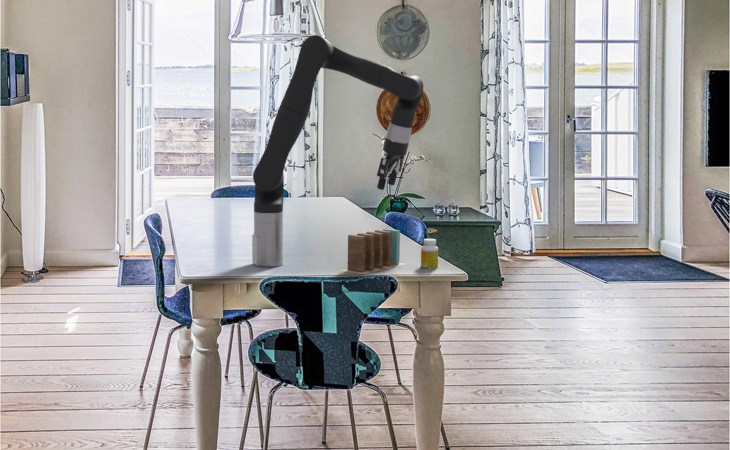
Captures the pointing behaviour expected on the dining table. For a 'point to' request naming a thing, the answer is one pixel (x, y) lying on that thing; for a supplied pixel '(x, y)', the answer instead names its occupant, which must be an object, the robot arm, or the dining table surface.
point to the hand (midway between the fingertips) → (385, 186)
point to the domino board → (374, 269)
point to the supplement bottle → (429, 254)
